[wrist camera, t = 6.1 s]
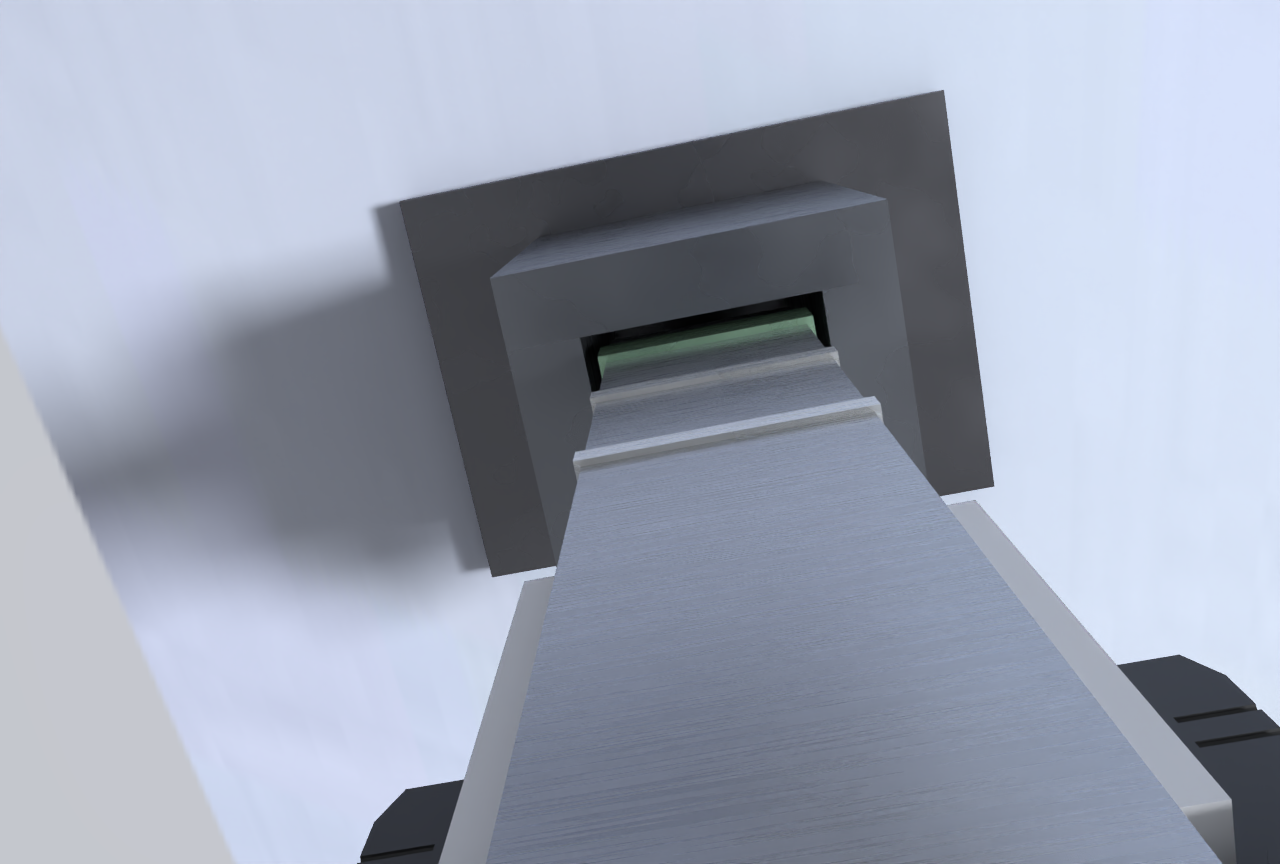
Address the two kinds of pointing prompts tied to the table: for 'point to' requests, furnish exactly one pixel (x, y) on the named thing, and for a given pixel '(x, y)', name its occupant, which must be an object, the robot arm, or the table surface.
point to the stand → (699, 292)
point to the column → (796, 645)
